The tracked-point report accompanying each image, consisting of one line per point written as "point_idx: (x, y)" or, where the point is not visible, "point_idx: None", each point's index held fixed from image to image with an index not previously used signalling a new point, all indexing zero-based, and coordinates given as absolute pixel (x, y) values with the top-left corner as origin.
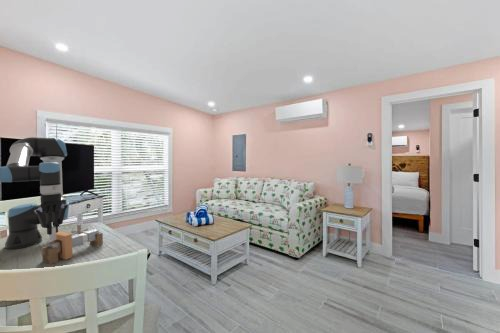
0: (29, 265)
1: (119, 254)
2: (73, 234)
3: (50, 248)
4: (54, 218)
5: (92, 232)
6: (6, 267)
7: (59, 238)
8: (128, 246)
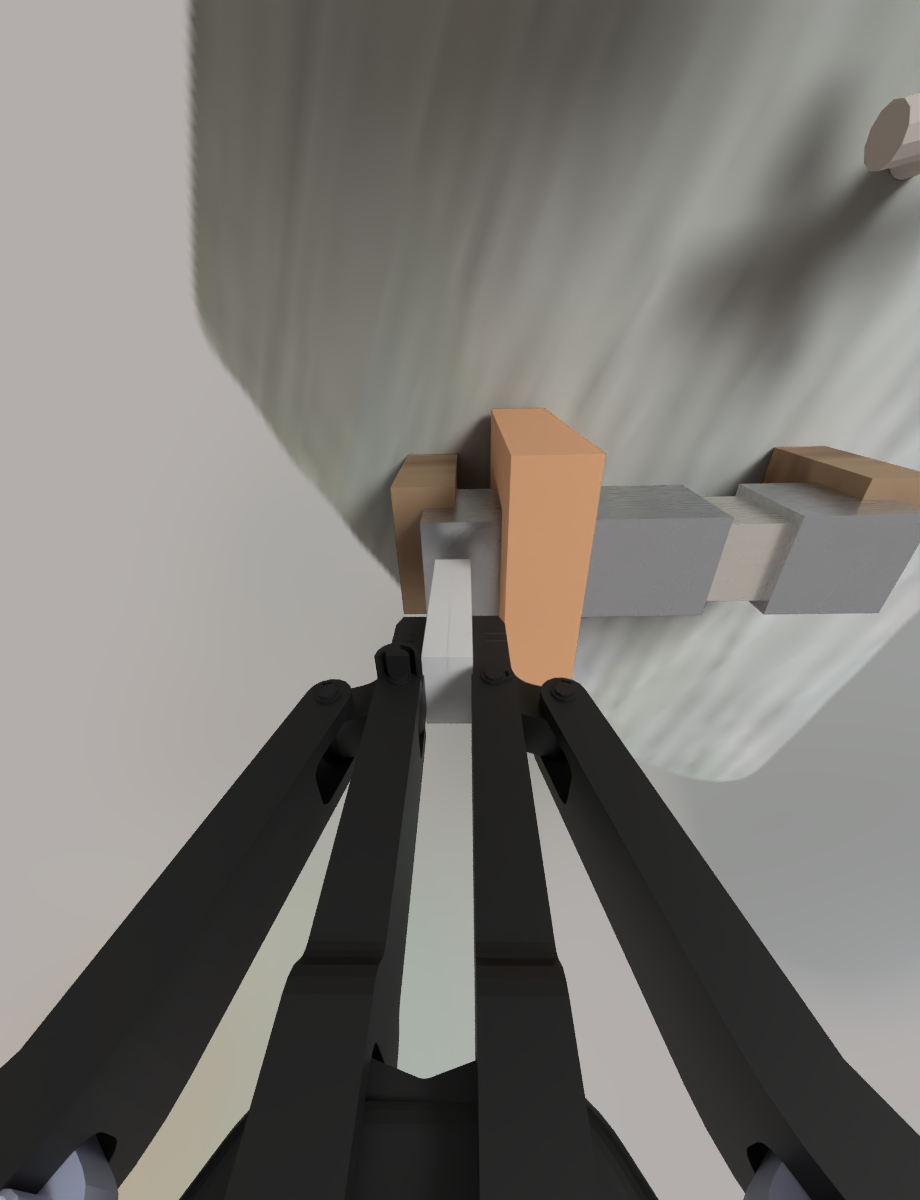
0: (331, 441)
1: (644, 757)
2: (910, 157)
3: (421, 581)
4: (473, 851)
5: (802, 612)
6: (205, 290)
7: (500, 614)
8: (757, 721)
